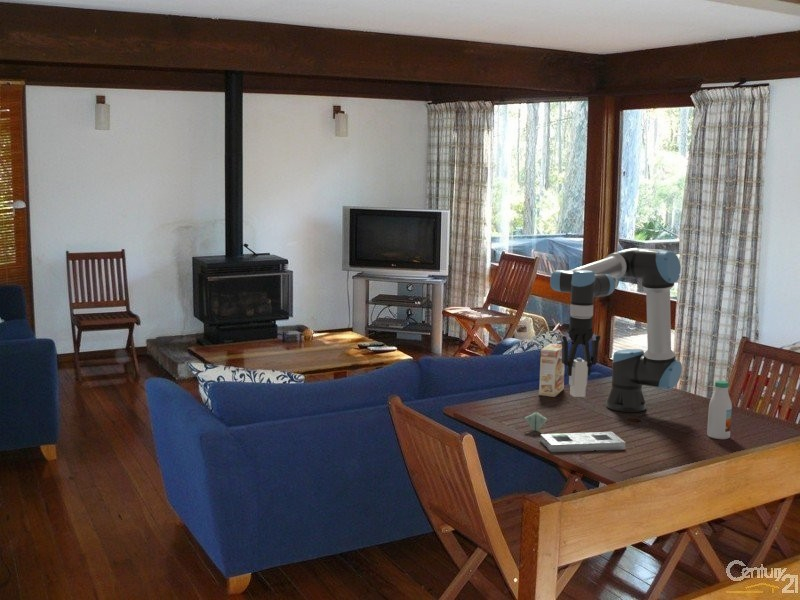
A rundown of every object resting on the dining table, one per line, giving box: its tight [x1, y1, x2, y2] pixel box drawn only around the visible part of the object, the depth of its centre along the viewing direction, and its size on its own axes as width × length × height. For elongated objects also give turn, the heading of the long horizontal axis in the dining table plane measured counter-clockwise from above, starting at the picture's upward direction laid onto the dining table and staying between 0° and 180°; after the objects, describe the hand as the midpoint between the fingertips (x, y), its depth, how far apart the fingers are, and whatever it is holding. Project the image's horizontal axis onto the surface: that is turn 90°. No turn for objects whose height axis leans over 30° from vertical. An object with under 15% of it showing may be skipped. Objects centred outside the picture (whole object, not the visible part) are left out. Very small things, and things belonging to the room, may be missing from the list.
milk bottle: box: [706, 380, 733, 440], centre depth 315 cm, size 8×8×20 cm
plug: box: [569, 357, 587, 398], centre depth 301 cm, size 4×4×13 cm
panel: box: [539, 431, 626, 453], centre depth 305 cm, size 26×12×3 cm, turn 99°
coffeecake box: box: [538, 342, 566, 398], centre depth 374 cm, size 15×7×20 cm, turn 155°
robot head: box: [524, 411, 548, 432], centre depth 321 cm, size 8×4×7 cm, turn 78°
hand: (577, 384), depth 301 cm, fingers closed on plug, 4 cm apart
